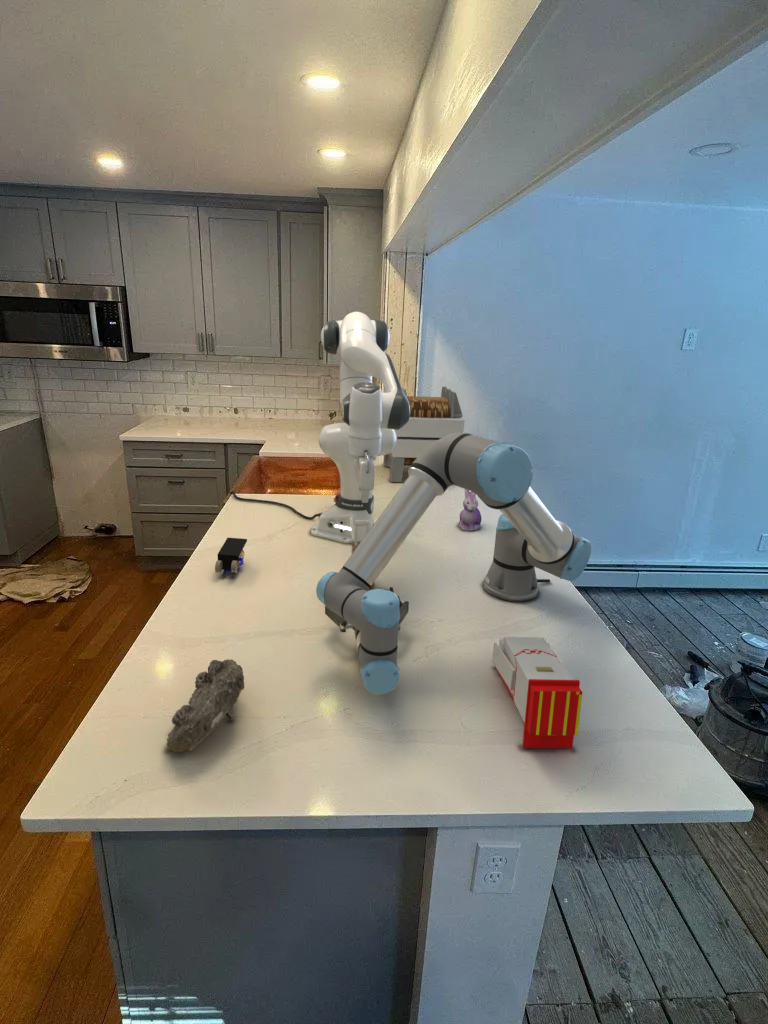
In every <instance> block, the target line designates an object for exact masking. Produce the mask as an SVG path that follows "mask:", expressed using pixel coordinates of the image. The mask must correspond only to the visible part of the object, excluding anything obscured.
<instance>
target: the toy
mask: <svg viewBox="0 0 768 1024" xmlns="http://www.w3.org/2000/svg"><path fill="white" fill-rule="evenodd" d="M491 662H492V663H493V665H494V667H495V669H496V671H497V673H498V675H499V676H500V678H501V680H502V683H503V684H504V686H505V688H506V689H507V691H508V693H509V695H510V697H511V698H512V700H513V702H514V705H515V707H516V709H517V711H518V713H519V715H520V717H521V719H522V722H523V724H524V725H523V736H522V748H524V749H573V747H574V738H575V736H577V737H578V734H579V725H580V717H581V710H582V709H581V708H582V701H583V700H582V699H583V690H582V689H581V688H580V685H581V681H580V679H574V677H573V676H572V675H571V673H570V672H569V670H568V669H567V668H566V667H565V665H564V664H563V662H562V661H561V660H560V658H559V657H558V656H557V654H556V653H555V651H554V650H553V649H552V647H551V645H550V643H549V642H547V640H546V639H545V637H543V636H542V637H541V636H535V637H534V636H503V637H500V638H499V642H498V643H497V642H494V643H493V649H492V657H491Z"/></svg>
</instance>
